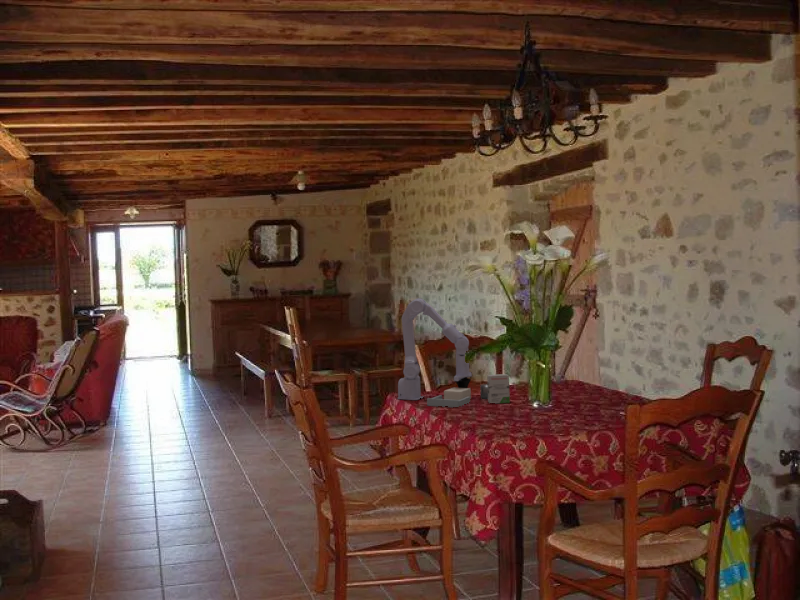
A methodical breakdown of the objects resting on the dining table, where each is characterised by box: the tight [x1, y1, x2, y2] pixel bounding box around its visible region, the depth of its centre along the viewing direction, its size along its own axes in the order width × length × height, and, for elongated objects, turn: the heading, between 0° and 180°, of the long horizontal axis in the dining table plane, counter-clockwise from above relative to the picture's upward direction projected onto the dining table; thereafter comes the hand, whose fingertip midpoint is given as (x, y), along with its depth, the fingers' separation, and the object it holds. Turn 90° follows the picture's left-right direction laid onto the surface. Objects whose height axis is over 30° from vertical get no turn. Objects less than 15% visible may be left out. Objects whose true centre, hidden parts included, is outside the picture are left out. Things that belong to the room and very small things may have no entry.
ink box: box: [487, 373, 511, 404], centre depth 371 cm, size 9×5×12 cm, turn 94°
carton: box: [443, 386, 472, 400], centre depth 376 cm, size 8×10×5 cm
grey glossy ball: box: [479, 383, 488, 400], centre depth 381 cm, size 6×6×6 cm
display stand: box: [426, 394, 471, 408], centre depth 369 cm, size 14×12×3 cm
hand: (463, 395), depth 383 cm, fingers closed
